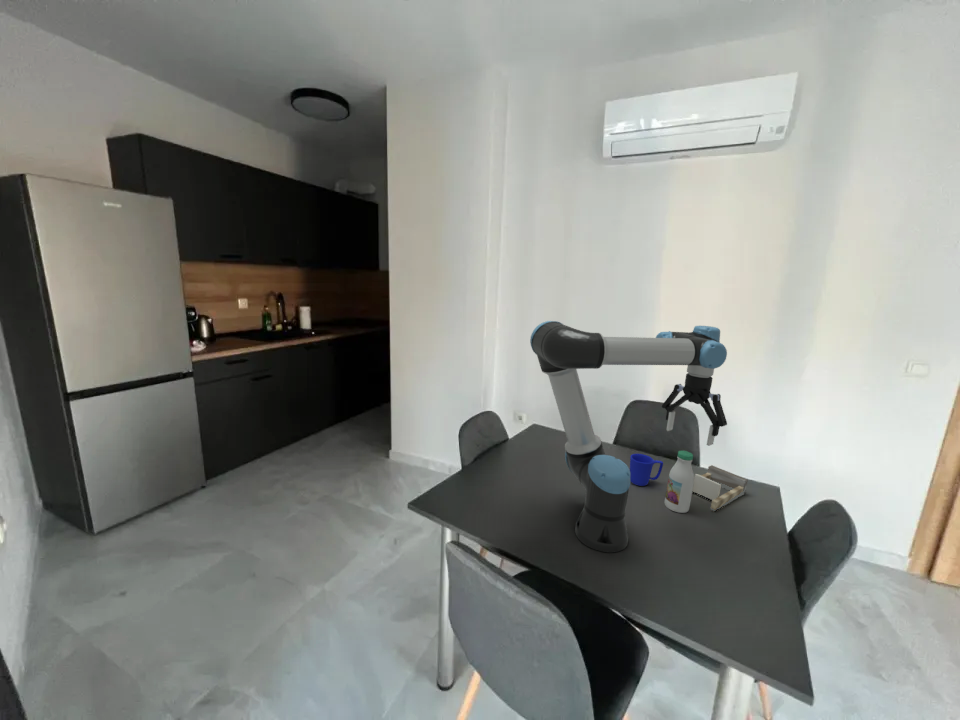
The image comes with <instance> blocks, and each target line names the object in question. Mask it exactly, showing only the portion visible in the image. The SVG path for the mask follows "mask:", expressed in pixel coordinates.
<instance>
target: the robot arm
mask: <svg viewBox="0 0 960 720" xmlns="http://www.w3.org/2000/svg"><path fill="white" fill-rule="evenodd" d="M720 339H721V330H720V328H719V327H716V326H709V325H695V326H694V327H693V330H692V331H691V332H686V331H684V332H683V331H670V330H668V331H660V332H659V333H657V334H656V336H655V337H637V336H636V337H634V336H633V337H632V336H631V337H629V336H603V335H602V333H600V332H589V331H583V330H580V329H577V328H573V327H571V326H568V325H566V324H564V323H562V322H560V321H556V320H547V321H543V322H541V323H539V324H538V325H537V326H536V327H535V328H534V329H533V331H532V332H531V335H530V347H531V349H532V351H533V353H534V354H535V355H536V356H537V359H538V362H539V366H540V369H541V372H542V373H544V374H546V375H547V377H548V379H549V382H550V386H551V389H552V392H553V395H554V399H555V402H556V406H557V409H558V412H559V416H560V419H561V422H562V423H561V424H562V426H563V429H564V432H565V437H566V440H567V441H566V442H565V444H564V450H565V452H564V458H565V459H564V460H565V463H566V466H567V468H568V470H569V471H570V472H571V473H572V475H574V477H575V478H576V479H577V481H578V482H579V483H580V484H581V486H582V487H583V489H584V490H585V495H584V502H583V503H584V504H583V505H584V506H583V509H582V510H581V512H580V514H579V516H578V518H577V520H576V522H575V529H574V532H575V535H576V537H577V539H578V540H579V541H580V542H581V543H582V544H583V545H585V546H586V547H589V548H590V549H593V550H595V551H597V552H598V551H599V552H603V553H617V552H622V551H623V550H624V549H626V547H627V546H628V542H629V531H628V529H627V528H628V527H627V522H626V511H627V504H628V498H629V491H630V487H631V483H632V482H631V481H630V467H629V466H628V465H627V464H626V463H625V462H624V461H623V460H621V459H620V458H616V457H615V456H613V455H608V454H606V453H605V449H604V445H603V443H602V439H601V437H600V436H598V435H596V434H595V431H594V428H593V425H592V421H591V417H590V414H589V411H588V407H587V402H586V399H585V395H584V392H583V389H582V385H581V381H580V377H579V374H578V370H579V369H580V370H581V369H582V370H585V369H586V370H587V369H596V370H597V369H600V368H602V366H687V368H686V372H687V373H686V375H685V381H684V385H682V384H681V383H677V384H675V385H674V387H673V390H672V392H671V393H670V394H669V395H668V396H667V398H666V400H665V401H664V402H663V403H662V405H661V408H662V409H665V411H666V415H665V421H667V424H666V428H665V429H666V431H667V432H670V431H673V429H674V424H675V418H676V411H675V410H676V409H677V408H679V407H680V406H681V405H682V404H684V403H685V402H687V401H688V402H689V403H694V404H696V405H700V406H701V408H702V409H703V410H704V412H705V413H706V416H707V418H708V419H709V420H710V422H711V425H709V429H708V435H707V441H706V446H712V445H714V442H715V437H717V436H719V431H720V427H725V426H727V425H728V421H727V419H726V415H725V412H724V408H723V405H722V402H721V398H722V397H721V394H720V393H717V394H716V393H715V394H714V393H711V388H712V384H713V377H712V376H714V372H715V369H718V368H720V367H721V366H722V365H724V363H725V362H726V360H727V357H728V356H727V355H728V350H727V348H726V346H725V345H724V344H723V343H721V341H720ZM680 392H683V394H684V395H682V396H681V397H680V398H679V399H677V400H676V398H677V396H678V395H679V394H680ZM674 400H676V401H675V402H674ZM709 400H710V401H712V405H713V407H712V405H711V402H710V401H709ZM713 408H714V409H713Z"/></svg>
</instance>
